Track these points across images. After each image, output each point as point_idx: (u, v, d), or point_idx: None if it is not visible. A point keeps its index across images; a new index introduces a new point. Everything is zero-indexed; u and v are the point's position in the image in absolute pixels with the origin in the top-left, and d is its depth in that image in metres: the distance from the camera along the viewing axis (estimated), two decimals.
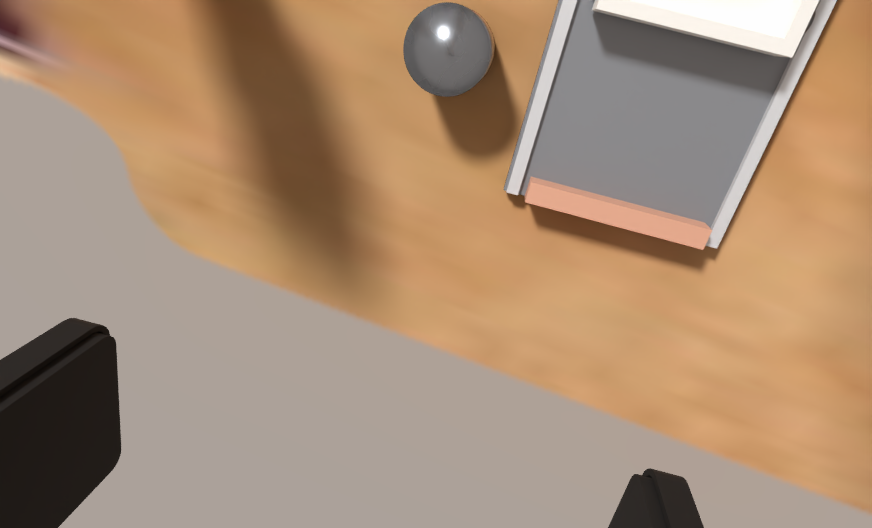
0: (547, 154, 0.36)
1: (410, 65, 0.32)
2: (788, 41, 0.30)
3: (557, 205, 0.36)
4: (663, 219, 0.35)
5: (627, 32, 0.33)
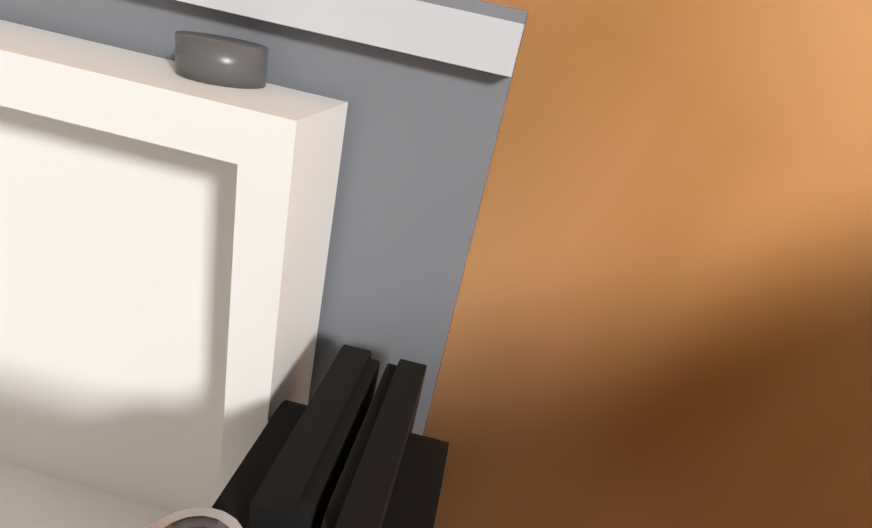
0: None
1: None
2: None
3: None
4: None
5: None
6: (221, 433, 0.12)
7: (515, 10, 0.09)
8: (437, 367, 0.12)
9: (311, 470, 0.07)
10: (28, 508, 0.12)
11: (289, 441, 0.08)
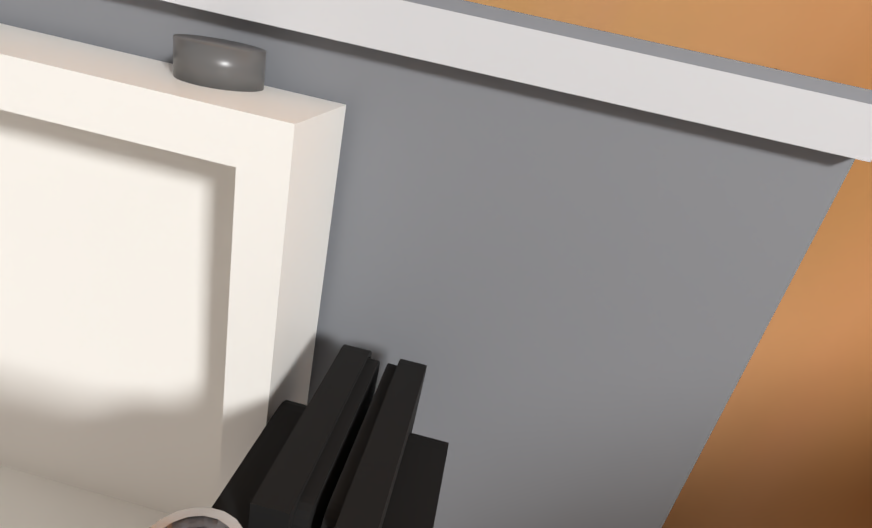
0: None
1: None
2: None
3: None
4: None
5: None
6: (220, 435, 0.12)
7: None
8: (706, 440, 0.11)
9: (311, 470, 0.07)
10: (26, 511, 0.12)
11: (289, 441, 0.08)
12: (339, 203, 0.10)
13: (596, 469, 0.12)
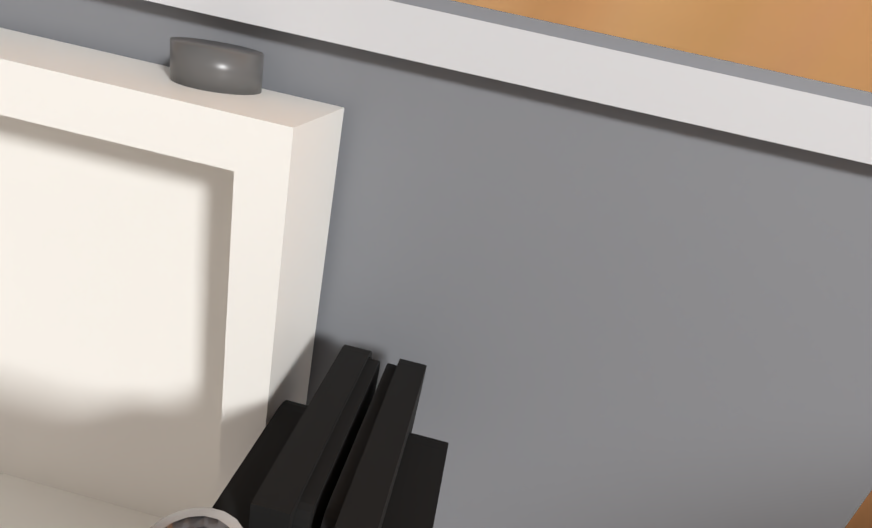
0: None
1: None
2: None
3: None
4: None
5: None
6: (218, 440, 0.12)
7: None
8: None
9: (312, 471, 0.07)
10: (22, 518, 0.12)
11: (289, 441, 0.08)
12: (513, 249, 0.10)
13: (753, 513, 0.12)
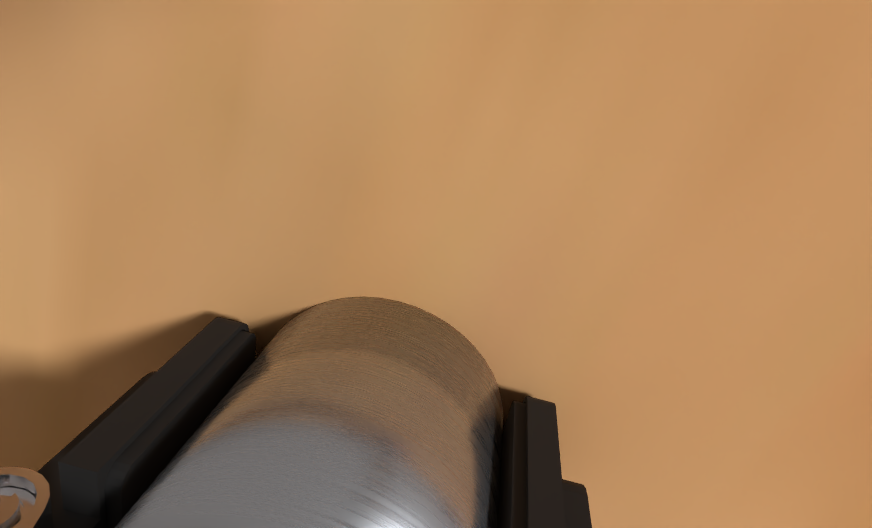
0: None
1: None
2: None
3: None
4: None
5: None
6: None
7: None
8: None
9: (136, 432, 0.07)
10: None
11: (123, 405, 0.08)
12: None
13: None
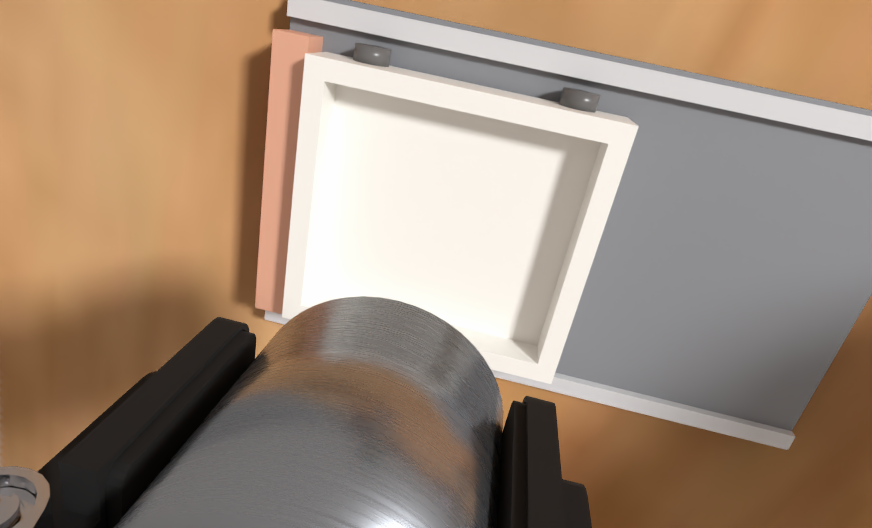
0: None
1: None
2: (298, 310, 0.24)
3: (277, 89, 0.21)
4: (286, 252, 0.24)
5: None
6: (536, 285, 0.23)
7: None
8: (867, 300, 0.22)
9: (136, 433, 0.07)
10: None
11: (123, 405, 0.08)
12: (694, 182, 0.22)
13: (806, 320, 0.23)
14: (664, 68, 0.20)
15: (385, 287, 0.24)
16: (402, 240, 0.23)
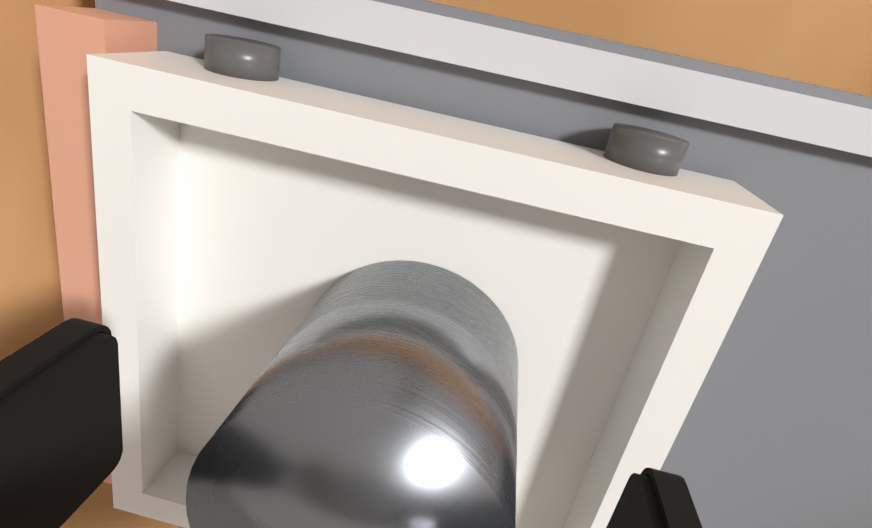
0: None
1: (273, 423, 0.07)
2: (139, 499, 0.14)
3: (61, 120, 0.11)
4: None
5: None
6: (553, 465, 0.13)
7: None
8: None
9: None
10: None
11: None
12: (845, 297, 0.12)
13: None
14: (807, 87, 0.10)
15: None
16: None
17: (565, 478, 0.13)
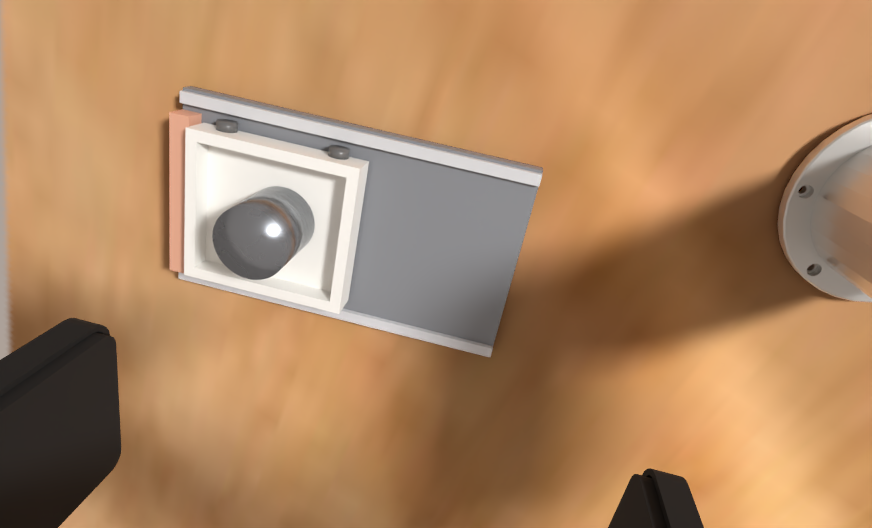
0: None
1: (232, 212, 0.34)
2: (193, 270, 0.40)
3: (174, 143, 0.38)
4: None
5: None
6: (330, 256, 0.40)
7: (539, 170, 0.36)
8: (515, 265, 0.39)
9: None
10: (270, 282, 0.40)
11: None
12: (411, 197, 0.38)
13: (486, 277, 0.40)
14: (384, 135, 0.37)
15: None
16: None
17: (335, 261, 0.40)
